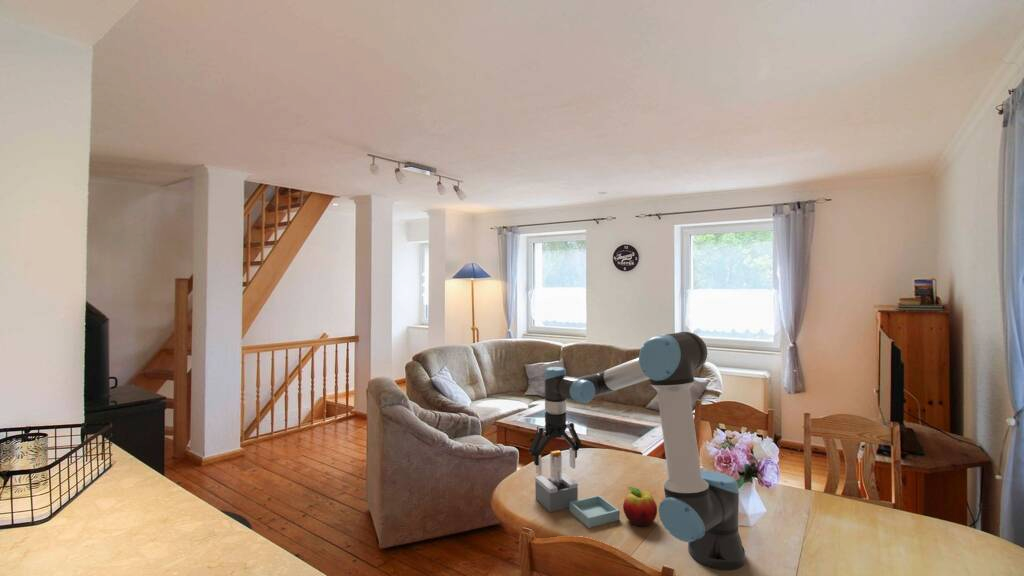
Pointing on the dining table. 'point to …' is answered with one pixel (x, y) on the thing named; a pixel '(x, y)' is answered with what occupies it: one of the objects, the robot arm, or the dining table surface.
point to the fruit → (640, 507)
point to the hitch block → (556, 493)
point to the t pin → (556, 469)
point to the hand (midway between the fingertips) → (555, 470)
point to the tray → (594, 511)
